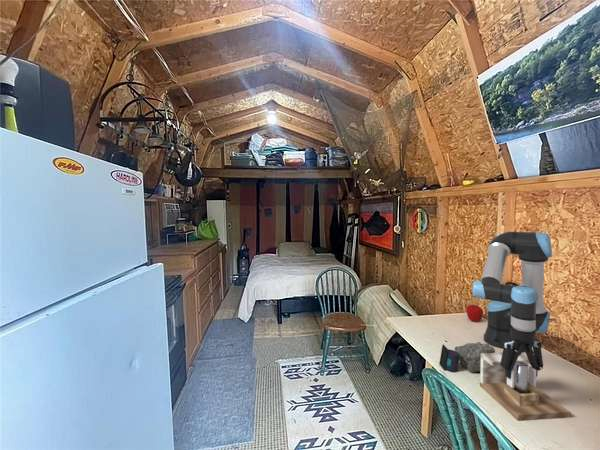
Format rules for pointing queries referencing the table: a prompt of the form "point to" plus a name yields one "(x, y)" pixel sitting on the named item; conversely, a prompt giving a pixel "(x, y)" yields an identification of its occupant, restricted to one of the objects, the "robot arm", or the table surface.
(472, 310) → the apple
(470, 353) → the rock
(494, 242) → the robot arm
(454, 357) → the speaker
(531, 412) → the socket board
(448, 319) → the table surface
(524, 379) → the peg
